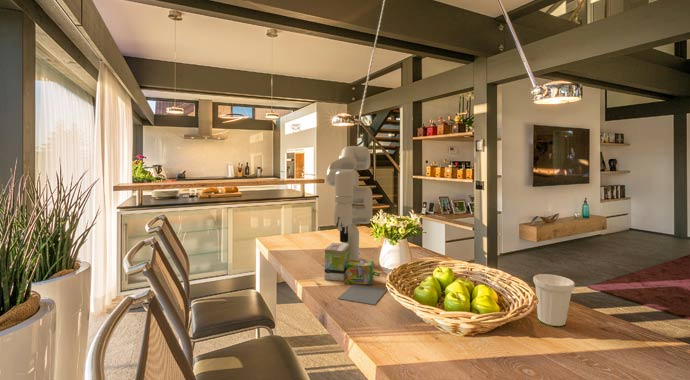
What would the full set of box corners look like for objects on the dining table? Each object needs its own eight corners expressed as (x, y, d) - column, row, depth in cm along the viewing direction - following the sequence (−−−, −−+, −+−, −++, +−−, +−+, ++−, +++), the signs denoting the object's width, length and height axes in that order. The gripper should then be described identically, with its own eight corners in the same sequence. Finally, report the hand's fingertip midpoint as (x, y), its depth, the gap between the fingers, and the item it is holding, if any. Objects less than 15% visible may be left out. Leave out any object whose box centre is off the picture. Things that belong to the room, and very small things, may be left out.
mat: (353, 284, 161) (353, 283, 161) (387, 289, 155) (387, 288, 155) (337, 299, 145) (337, 298, 145) (374, 305, 139) (374, 304, 138)
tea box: (344, 281, 166) (344, 250, 164) (323, 279, 168) (323, 249, 166) (350, 271, 180) (350, 243, 179) (331, 270, 182) (331, 242, 181)
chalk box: (349, 259, 170) (380, 260, 168) (349, 278, 170) (380, 279, 168) (346, 264, 161) (379, 265, 158) (347, 284, 161) (379, 285, 159)
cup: (578, 331, 118) (581, 287, 116) (538, 328, 120) (541, 284, 118) (562, 315, 130) (565, 274, 128) (526, 312, 132) (528, 273, 131)
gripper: (342, 197, 158) (342, 237, 160) (328, 201, 144) (328, 245, 147) (358, 198, 155) (358, 238, 157) (345, 202, 142) (345, 247, 144)
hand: (344, 241), depth 152 cm, fingers closed
